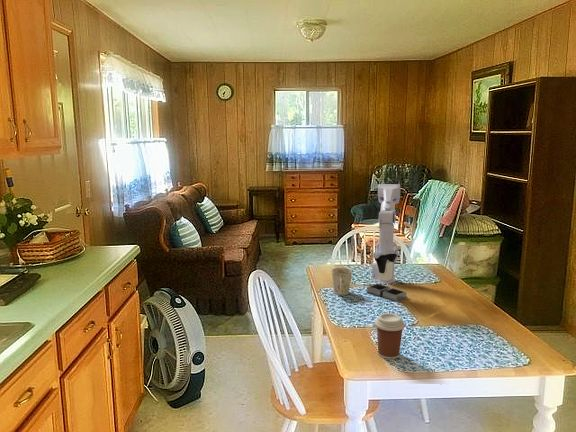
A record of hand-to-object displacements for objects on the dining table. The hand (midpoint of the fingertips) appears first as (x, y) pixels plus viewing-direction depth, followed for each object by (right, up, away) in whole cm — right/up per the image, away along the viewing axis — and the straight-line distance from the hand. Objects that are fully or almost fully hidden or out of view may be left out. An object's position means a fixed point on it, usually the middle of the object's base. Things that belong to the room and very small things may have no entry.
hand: (385, 271), depth 199 cm
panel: (+1, -10, +1) cm, 10 cm away
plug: (0, -3, 0) cm, 3 cm away
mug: (-18, -10, +2) cm, 21 cm away
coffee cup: (-9, -20, -50) cm, 55 cm away
